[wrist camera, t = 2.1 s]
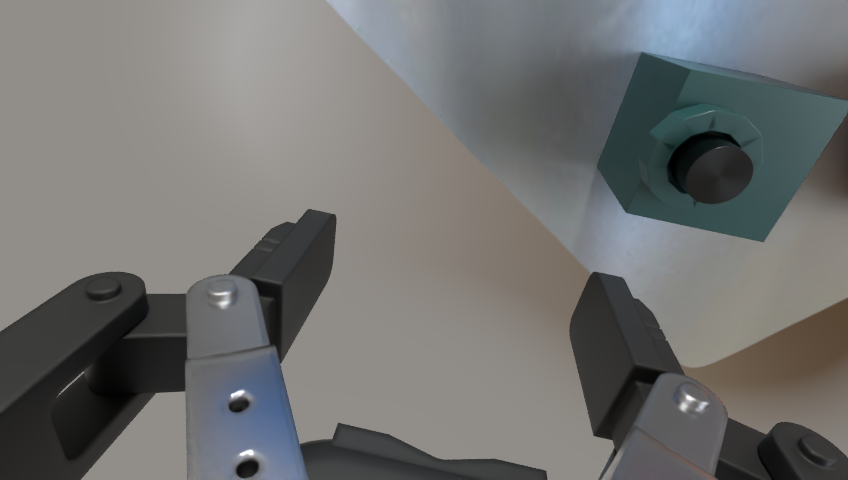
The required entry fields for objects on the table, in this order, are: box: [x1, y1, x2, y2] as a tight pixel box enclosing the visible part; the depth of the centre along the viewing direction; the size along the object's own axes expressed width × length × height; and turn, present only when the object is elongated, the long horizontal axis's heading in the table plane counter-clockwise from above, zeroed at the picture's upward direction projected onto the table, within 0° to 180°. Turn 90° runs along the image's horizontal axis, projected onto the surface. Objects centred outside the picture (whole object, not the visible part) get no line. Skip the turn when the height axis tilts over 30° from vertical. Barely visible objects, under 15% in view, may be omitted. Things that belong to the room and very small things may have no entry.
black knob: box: [671, 135, 754, 204], centre depth 27 cm, size 4×4×3 cm
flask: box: [597, 52, 848, 242], centre depth 33 cm, size 11×10×12 cm
